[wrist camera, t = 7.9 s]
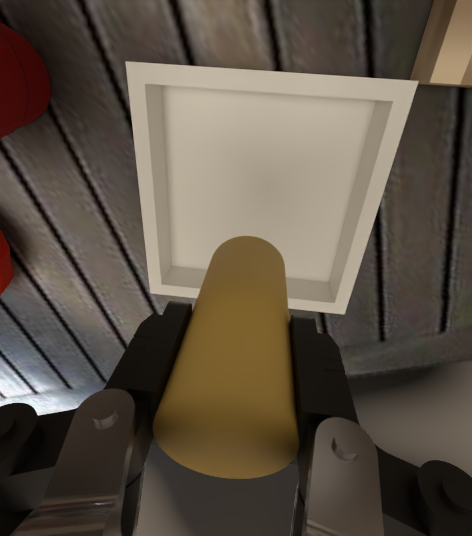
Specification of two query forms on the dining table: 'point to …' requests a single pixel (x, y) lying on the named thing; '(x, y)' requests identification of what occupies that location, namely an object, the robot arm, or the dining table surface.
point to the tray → (262, 171)
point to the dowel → (234, 370)
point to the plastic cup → (20, 82)
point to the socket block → (446, 46)
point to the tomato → (5, 264)
